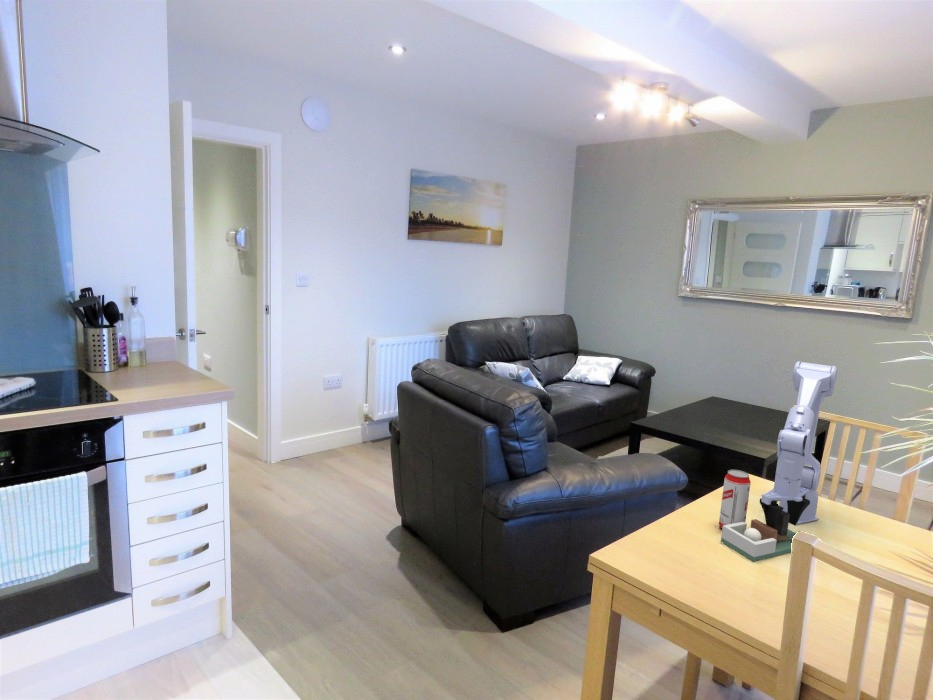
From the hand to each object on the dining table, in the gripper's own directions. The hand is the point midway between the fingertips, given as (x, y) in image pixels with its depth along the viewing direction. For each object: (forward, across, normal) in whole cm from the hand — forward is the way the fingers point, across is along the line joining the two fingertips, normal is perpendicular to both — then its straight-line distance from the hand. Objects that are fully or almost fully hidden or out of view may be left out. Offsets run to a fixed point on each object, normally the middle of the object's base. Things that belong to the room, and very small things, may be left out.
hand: (781, 525), depth 147 cm
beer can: (+5, -7, +9) cm, 12 cm away
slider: (+3, -3, 0) cm, 4 cm away
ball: (+1, -10, 0) cm, 10 cm away
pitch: (+4, -4, 0) cm, 6 cm away
